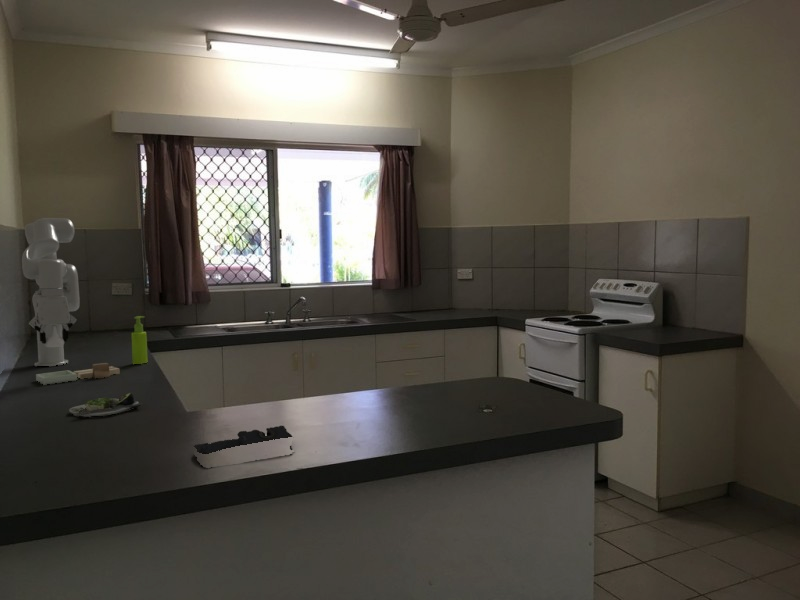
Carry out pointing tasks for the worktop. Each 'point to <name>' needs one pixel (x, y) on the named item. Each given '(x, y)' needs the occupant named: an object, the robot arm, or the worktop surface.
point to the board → (89, 372)
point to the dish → (56, 377)
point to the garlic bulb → (54, 339)
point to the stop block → (100, 370)
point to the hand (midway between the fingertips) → (54, 341)
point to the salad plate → (106, 406)
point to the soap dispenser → (139, 343)
